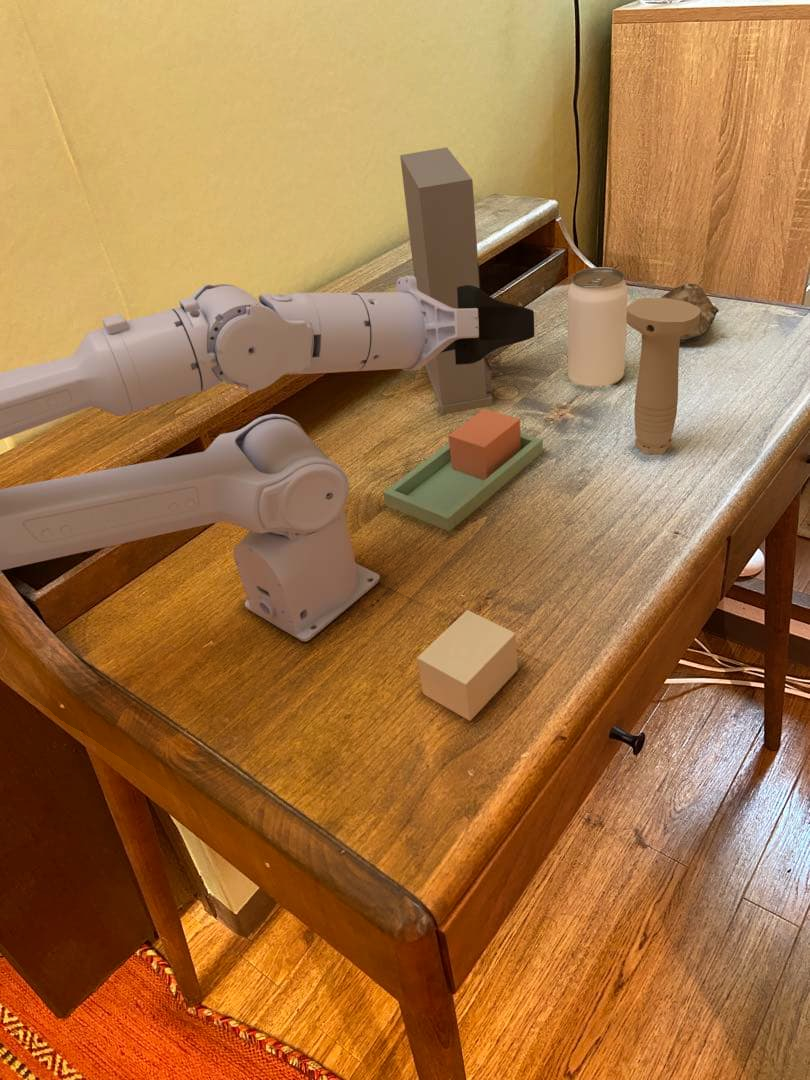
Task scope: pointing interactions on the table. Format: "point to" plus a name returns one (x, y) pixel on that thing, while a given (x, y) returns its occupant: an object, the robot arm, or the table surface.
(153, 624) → the table surface
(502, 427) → the orange red block
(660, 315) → the handle
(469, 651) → the beige block
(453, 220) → the tall grey pillar
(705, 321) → the fossilized seashell
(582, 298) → the can
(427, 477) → the tray
